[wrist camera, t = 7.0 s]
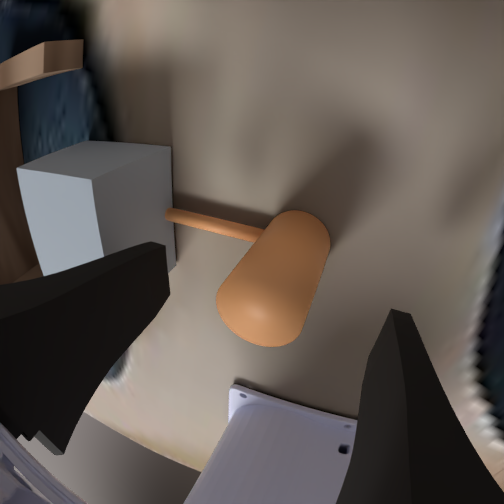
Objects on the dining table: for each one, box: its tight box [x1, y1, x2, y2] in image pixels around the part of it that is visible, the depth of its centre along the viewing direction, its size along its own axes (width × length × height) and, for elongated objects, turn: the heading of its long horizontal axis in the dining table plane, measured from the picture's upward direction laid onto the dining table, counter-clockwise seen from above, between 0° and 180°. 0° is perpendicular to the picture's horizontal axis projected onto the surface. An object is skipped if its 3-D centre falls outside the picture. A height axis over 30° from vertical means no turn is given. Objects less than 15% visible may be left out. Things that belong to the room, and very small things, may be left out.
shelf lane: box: [0, 39, 84, 285], centre depth 14 cm, size 10×17×6 cm, turn 176°
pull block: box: [16, 141, 330, 347], centre depth 12 cm, size 13×6×4 cm, turn 86°
